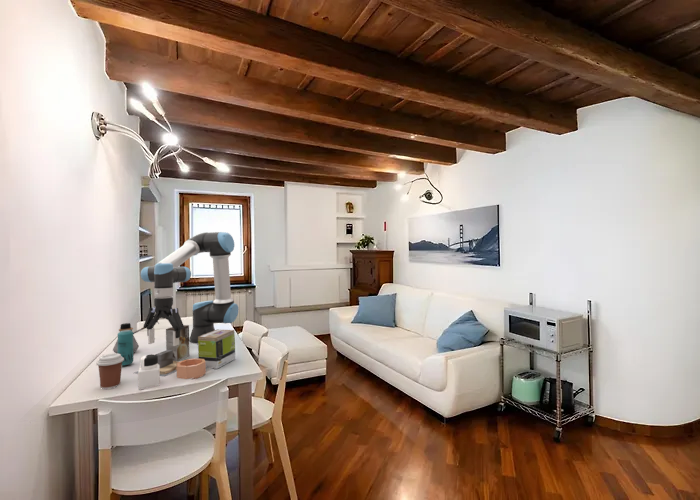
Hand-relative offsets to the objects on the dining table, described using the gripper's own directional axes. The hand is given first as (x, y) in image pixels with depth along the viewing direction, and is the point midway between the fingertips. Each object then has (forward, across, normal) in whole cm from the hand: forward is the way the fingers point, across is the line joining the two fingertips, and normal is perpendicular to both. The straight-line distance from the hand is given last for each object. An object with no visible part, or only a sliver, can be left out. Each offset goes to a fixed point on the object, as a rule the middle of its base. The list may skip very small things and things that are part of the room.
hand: (163, 344), depth 156 cm
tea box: (+12, +18, +14) cm, 26 cm away
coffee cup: (+12, -6, -20) cm, 24 cm away
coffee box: (+12, -5, +14) cm, 19 cm away
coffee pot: (+11, -37, +20) cm, 44 cm away
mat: (+12, 0, 0) cm, 12 cm away
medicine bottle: (+12, +9, -16) cm, 22 cm away
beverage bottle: (+12, -21, 0) cm, 24 cm away
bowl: (+12, +17, -2) cm, 21 cm away
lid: (+11, 0, 0) cm, 11 cm away
